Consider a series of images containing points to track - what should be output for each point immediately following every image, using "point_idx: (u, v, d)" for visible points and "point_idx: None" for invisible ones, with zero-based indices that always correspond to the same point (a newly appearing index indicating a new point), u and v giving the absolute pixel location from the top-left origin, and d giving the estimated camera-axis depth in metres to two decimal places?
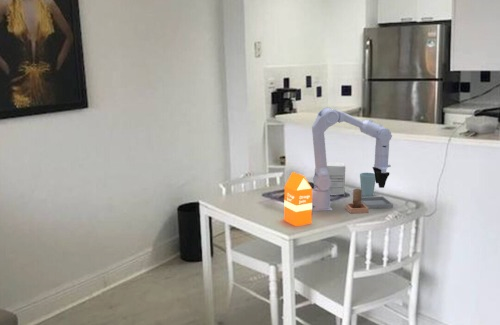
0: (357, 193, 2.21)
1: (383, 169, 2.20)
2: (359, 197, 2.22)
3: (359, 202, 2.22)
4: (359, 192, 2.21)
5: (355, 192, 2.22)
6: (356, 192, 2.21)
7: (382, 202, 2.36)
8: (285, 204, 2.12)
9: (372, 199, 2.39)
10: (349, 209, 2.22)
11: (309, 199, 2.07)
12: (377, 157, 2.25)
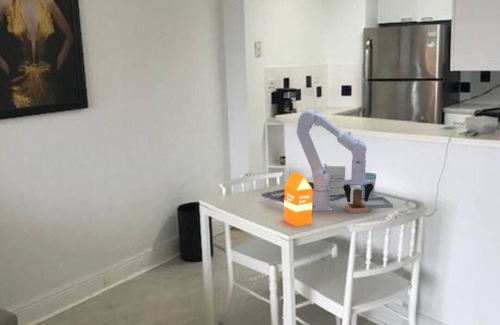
0: (357, 193, 2.21)
1: (341, 182, 2.21)
2: (359, 197, 2.22)
3: (359, 202, 2.22)
4: (359, 192, 2.21)
5: (355, 192, 2.22)
6: (356, 192, 2.21)
7: (382, 202, 2.36)
8: (285, 204, 2.12)
9: (372, 199, 2.39)
10: (349, 209, 2.22)
11: (309, 199, 2.07)
12: None
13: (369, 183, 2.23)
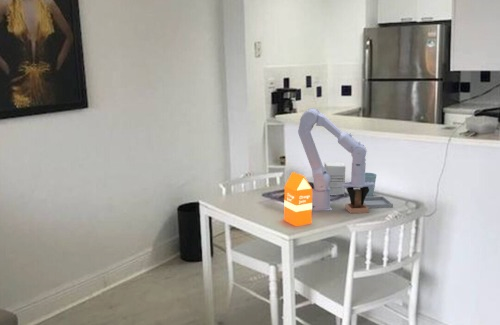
0: (357, 193, 2.21)
1: (341, 184, 2.22)
2: (359, 197, 2.22)
3: (359, 202, 2.22)
4: (359, 192, 2.21)
5: (355, 192, 2.22)
6: (356, 192, 2.21)
7: (382, 202, 2.36)
8: (285, 204, 2.12)
9: (372, 199, 2.39)
10: (349, 209, 2.22)
11: (309, 199, 2.07)
12: None
13: (369, 186, 2.23)
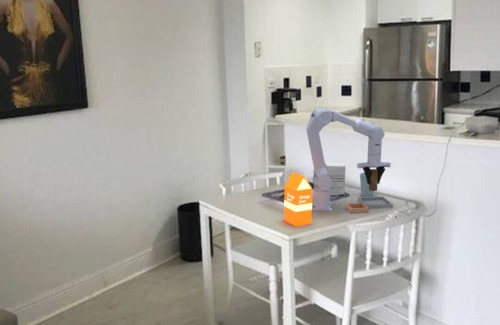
0: (373, 173, 2.27)
1: (357, 164, 2.28)
2: (375, 177, 2.27)
3: (375, 182, 2.28)
4: (375, 172, 2.27)
5: (371, 172, 2.27)
6: (372, 172, 2.27)
7: (382, 202, 2.36)
8: (285, 204, 2.12)
9: (372, 199, 2.39)
10: (349, 209, 2.22)
11: (309, 199, 2.07)
12: None
13: (385, 165, 2.29)
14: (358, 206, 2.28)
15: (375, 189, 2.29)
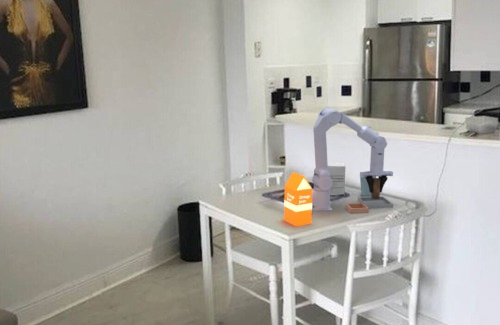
0: (375, 182, 2.30)
1: (360, 173, 2.30)
2: (377, 185, 2.30)
3: (377, 190, 2.30)
4: (378, 181, 2.29)
5: (374, 180, 2.30)
6: (375, 180, 2.30)
7: (382, 202, 2.36)
8: (285, 204, 2.12)
9: (372, 199, 2.39)
10: (349, 209, 2.22)
11: (309, 199, 2.07)
12: None
13: (387, 174, 2.31)
14: (358, 206, 2.28)
15: (377, 198, 2.31)
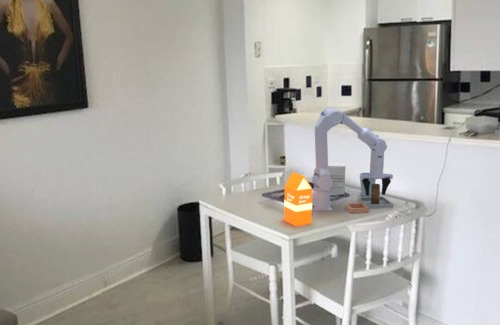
0: (375, 188, 2.30)
1: (360, 176, 2.30)
2: (377, 191, 2.30)
3: (377, 196, 2.31)
4: (377, 186, 2.30)
5: (373, 186, 2.30)
6: (374, 186, 2.30)
7: (382, 202, 2.36)
8: (285, 204, 2.12)
9: None
10: (349, 209, 2.22)
11: (309, 199, 2.07)
12: None
13: (387, 177, 2.31)
14: (358, 206, 2.28)
15: (377, 203, 2.32)
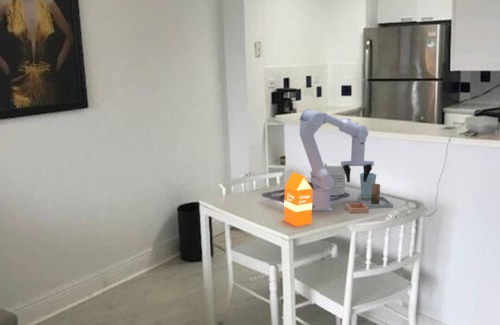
0: (375, 188, 2.30)
1: (341, 162, 2.32)
2: (377, 191, 2.30)
3: (377, 196, 2.31)
4: (377, 186, 2.30)
5: (373, 186, 2.30)
6: (374, 186, 2.30)
7: (382, 202, 2.36)
8: (286, 204, 2.12)
9: None
10: (349, 209, 2.22)
11: (309, 199, 2.07)
12: None
13: (368, 164, 2.33)
14: (358, 206, 2.28)
15: (377, 203, 2.32)
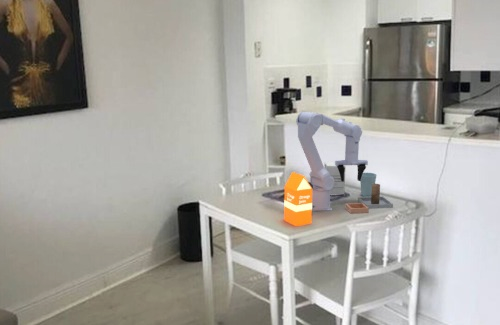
0: (375, 188, 2.30)
1: (335, 162, 2.33)
2: (377, 191, 2.31)
3: (377, 196, 2.31)
4: (377, 186, 2.30)
5: (373, 186, 2.31)
6: (374, 186, 2.30)
7: (382, 202, 2.36)
8: (285, 204, 2.12)
9: None
10: (349, 209, 2.22)
11: (309, 199, 2.07)
12: None
13: (362, 163, 2.34)
14: (358, 206, 2.28)
15: (377, 203, 2.32)
